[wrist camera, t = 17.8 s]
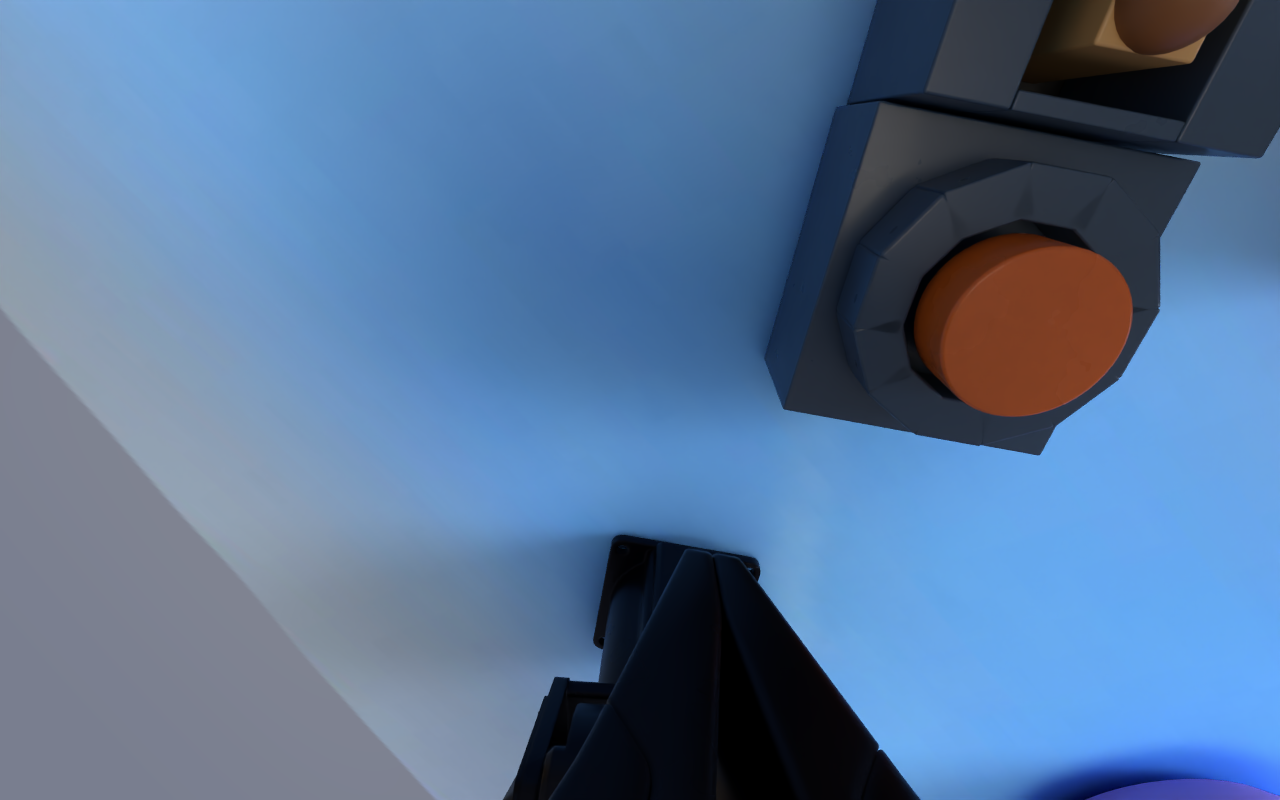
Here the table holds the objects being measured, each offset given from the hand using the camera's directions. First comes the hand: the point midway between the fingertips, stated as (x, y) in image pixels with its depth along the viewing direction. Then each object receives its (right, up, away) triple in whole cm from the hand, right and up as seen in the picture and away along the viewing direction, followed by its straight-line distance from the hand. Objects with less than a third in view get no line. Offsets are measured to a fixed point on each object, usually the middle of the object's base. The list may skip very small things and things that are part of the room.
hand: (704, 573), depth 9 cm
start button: (+8, +5, +5) cm, 11 cm away
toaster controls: (+8, +7, +10) cm, 15 cm away
